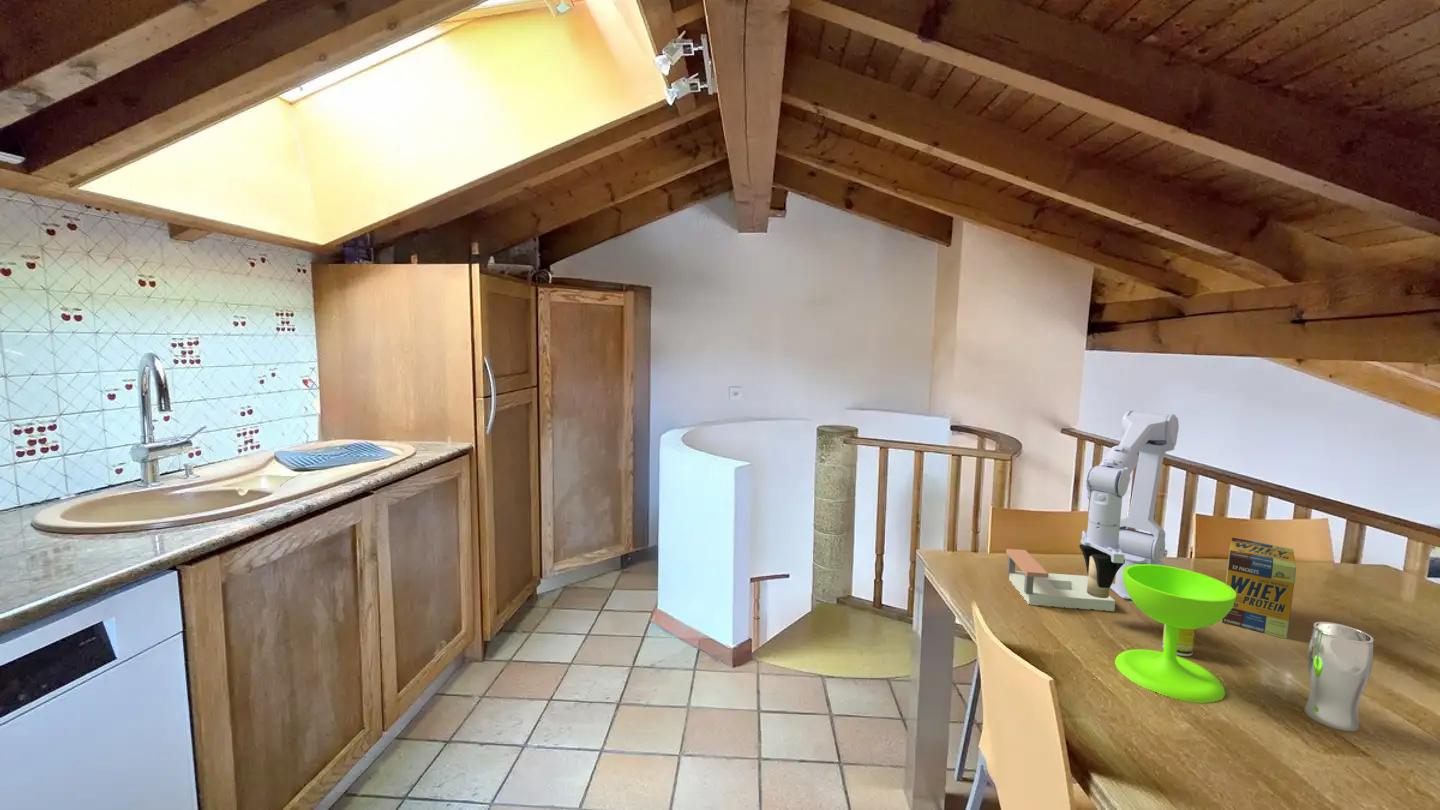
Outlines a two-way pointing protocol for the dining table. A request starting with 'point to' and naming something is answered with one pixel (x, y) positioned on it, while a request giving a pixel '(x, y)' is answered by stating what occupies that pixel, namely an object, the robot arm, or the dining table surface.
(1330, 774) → the dining table surface
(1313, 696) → the beer glass
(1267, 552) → the protein box
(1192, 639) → the supplement bottle
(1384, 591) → the dining table surface
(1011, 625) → the dining table surface
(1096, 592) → the peg
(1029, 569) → the pink miniature bench
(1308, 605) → the dining table surface
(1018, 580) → the socket board
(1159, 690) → the wineglass
